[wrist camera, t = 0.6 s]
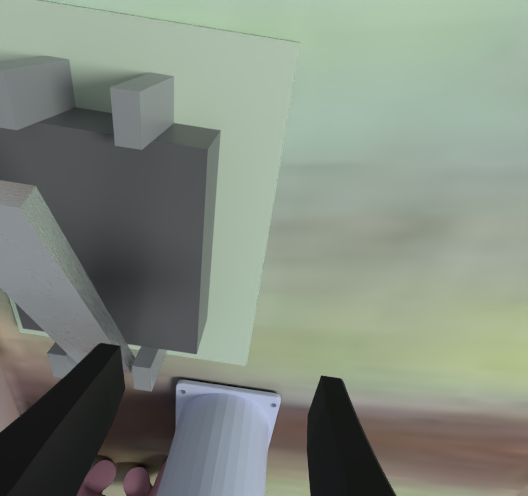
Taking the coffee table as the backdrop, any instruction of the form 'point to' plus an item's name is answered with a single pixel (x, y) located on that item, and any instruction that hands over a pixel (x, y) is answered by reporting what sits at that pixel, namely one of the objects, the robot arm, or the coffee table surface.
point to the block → (51, 276)
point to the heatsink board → (203, 98)
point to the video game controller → (135, 480)
